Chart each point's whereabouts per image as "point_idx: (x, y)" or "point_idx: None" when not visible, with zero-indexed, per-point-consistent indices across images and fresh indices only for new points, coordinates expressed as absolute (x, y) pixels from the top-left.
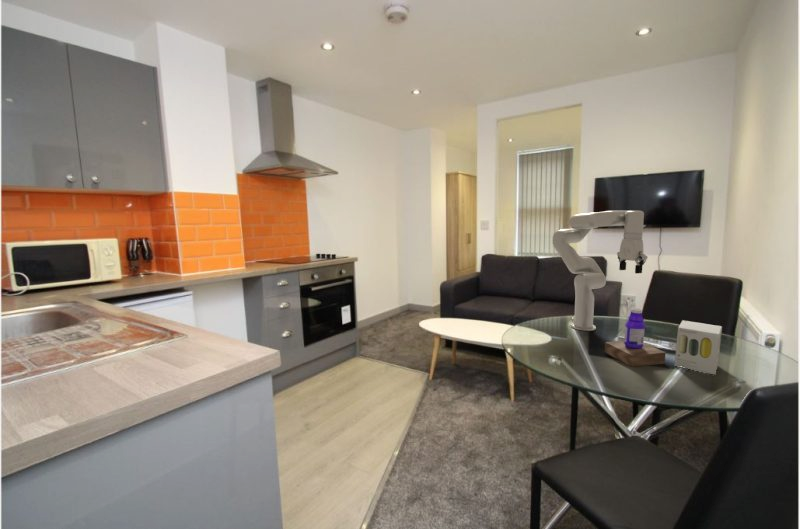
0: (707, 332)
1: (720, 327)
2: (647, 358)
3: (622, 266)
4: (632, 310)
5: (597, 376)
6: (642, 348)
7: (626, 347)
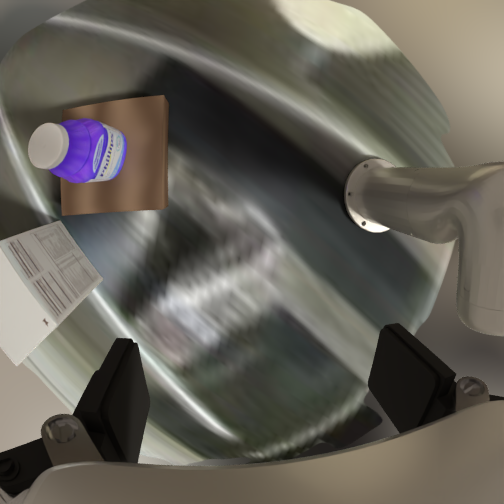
0: None
1: (5, 352)
2: None
3: (398, 371)
4: (47, 123)
5: (69, 23)
6: None
7: None
